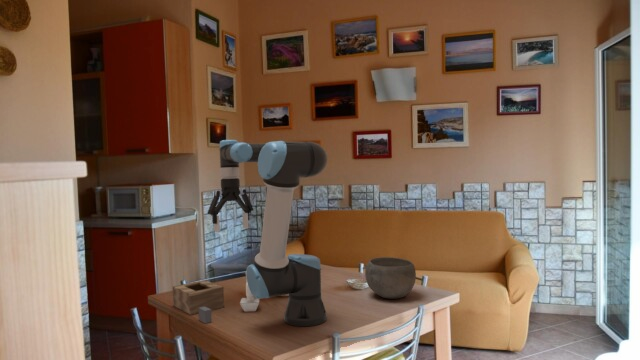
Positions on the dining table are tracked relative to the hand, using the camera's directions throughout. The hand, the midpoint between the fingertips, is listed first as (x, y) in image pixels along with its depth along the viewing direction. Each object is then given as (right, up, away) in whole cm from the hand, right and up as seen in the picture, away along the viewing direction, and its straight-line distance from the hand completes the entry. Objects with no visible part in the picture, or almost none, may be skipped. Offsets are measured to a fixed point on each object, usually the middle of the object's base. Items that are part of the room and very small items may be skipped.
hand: (231, 230), depth 186 cm
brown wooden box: (-13, -30, -4) cm, 33 cm away
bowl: (+65, -28, +5) cm, 72 cm away
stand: (-5, -30, -22) cm, 38 cm away
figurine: (+9, -30, -9) cm, 33 cm away
